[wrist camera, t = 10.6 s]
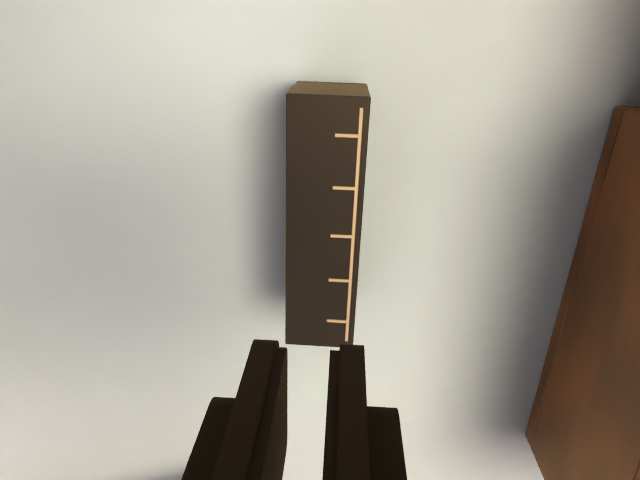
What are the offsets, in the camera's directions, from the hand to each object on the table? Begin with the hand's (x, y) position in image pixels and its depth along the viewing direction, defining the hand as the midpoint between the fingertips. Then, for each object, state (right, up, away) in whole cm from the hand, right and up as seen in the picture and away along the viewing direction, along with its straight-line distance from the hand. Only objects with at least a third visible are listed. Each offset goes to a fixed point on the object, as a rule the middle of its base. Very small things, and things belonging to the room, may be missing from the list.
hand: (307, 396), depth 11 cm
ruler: (+1, +5, +12) cm, 13 cm away
